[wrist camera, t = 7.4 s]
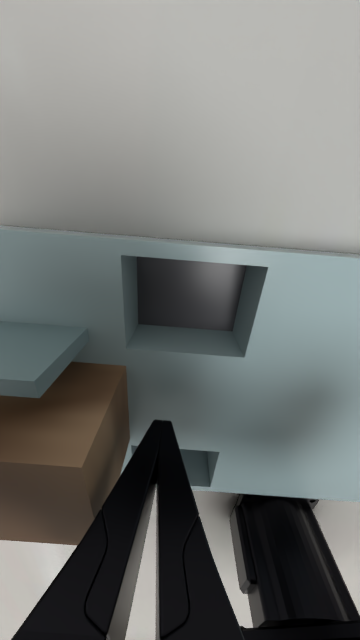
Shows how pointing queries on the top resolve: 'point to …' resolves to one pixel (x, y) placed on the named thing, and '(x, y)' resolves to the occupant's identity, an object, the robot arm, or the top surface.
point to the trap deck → (200, 349)
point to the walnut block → (62, 453)
